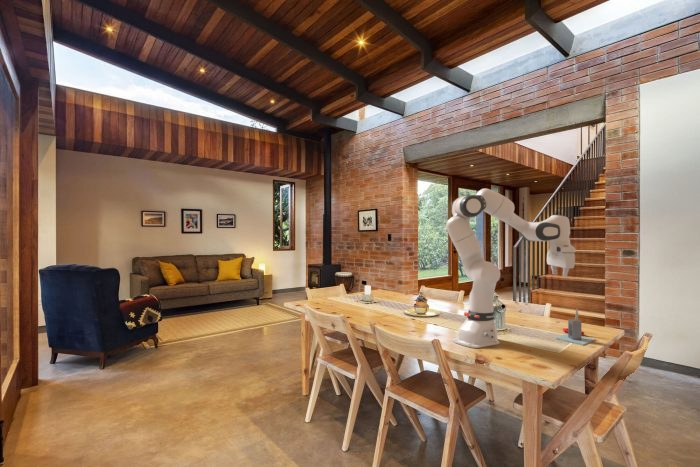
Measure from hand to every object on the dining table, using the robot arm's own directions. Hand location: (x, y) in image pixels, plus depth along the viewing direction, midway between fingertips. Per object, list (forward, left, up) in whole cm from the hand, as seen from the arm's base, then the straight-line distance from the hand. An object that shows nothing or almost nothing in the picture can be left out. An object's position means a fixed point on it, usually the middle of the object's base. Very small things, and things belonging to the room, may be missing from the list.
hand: (559, 275), depth 170 cm
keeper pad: (+5, -5, -31) cm, 32 cm away
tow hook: (+16, +1, -31) cm, 35 cm away
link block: (+4, -5, -30) cm, 31 cm away
